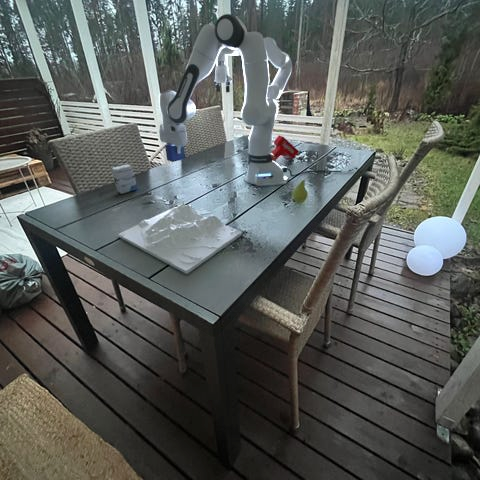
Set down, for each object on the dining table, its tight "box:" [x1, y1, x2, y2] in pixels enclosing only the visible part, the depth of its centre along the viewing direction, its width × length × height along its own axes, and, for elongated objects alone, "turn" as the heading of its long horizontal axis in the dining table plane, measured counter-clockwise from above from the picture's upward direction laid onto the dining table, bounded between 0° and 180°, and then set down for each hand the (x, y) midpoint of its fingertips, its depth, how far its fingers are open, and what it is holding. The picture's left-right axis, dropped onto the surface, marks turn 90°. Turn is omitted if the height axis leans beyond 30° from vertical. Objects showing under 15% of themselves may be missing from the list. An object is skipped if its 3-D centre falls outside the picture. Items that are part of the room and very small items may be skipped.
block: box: [164, 144, 186, 163], centre depth 150 cm, size 5×8×8 cm, turn 139°
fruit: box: [291, 174, 311, 204], centre depth 118 cm, size 7×8×12 cm
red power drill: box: [270, 134, 300, 163], centre depth 174 cm, size 18×4×15 cm
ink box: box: [110, 164, 138, 195], centre depth 131 cm, size 8×5×12 cm, turn 135°
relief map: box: [117, 202, 243, 275], centre depth 96 cm, size 27×35×5 cm
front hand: (174, 152), depth 150 cm, fingers closed on block, 5 cm apart
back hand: (223, 92), depth 198 cm, fingers open, 9 cm apart
